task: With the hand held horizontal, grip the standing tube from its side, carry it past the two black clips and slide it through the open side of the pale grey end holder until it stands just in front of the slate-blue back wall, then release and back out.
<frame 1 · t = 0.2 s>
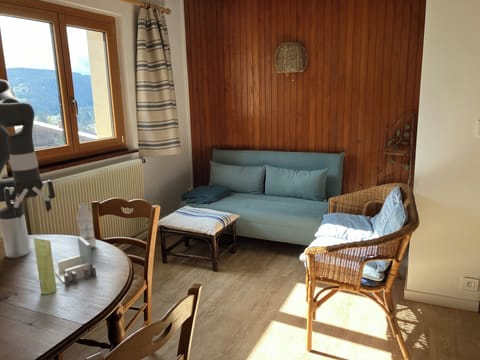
hand: (33, 214, 129), 29 cm above the table, tool pointing down, fingers open, 8 cm apart
end holder: (75, 272, 150), on the table
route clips: (79, 280, 144), on the table
tube: (49, 291, 137), on the table
plastic bottle: (88, 248, 174), on the table
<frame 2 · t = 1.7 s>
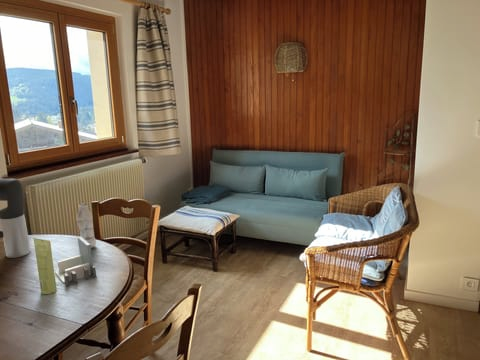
hand: (0, 230, 124), 26 cm above the table, tool horizontal, fingers open, 8 cm apart
nothing on the table moved.
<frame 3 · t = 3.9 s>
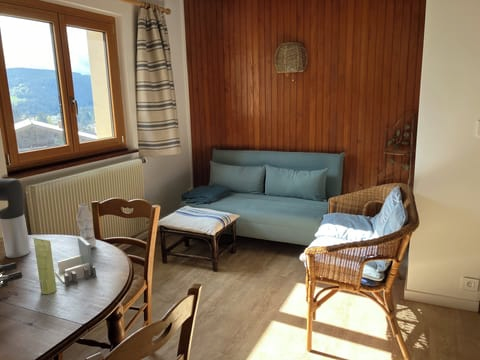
hand: (19, 269, 130), 11 cm above the table, tool horizontal, fingers open, 8 cm apart
nothing on the table moved.
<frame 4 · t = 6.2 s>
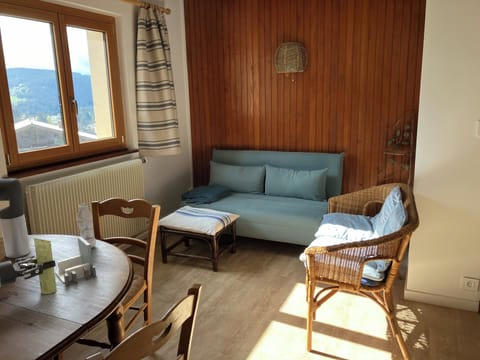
hand: (52, 260, 136), 11 cm above the table, tool horizontal, fingers closed on tube, 5 cm apart
tube: (49, 291, 137), on the table, touching gripper
everything else where it was.
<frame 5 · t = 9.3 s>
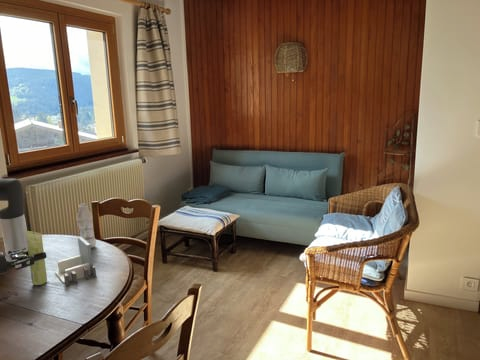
hand: (43, 252, 142), 12 cm above the table, tool horizontal, fingers closed on tube, 5 cm apart
tube: (40, 282, 143), on the table, touching gripper
everything else where it was.
when the fingers open (12 cm above the table, at t = 12.4 s): tube moves 1 cm, on the table.
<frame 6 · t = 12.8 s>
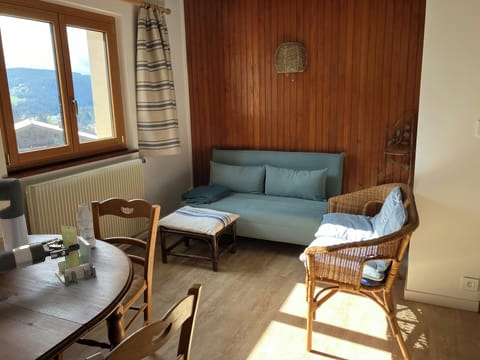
hand: (75, 242, 148), 12 cm above the table, tool horizontal, fingers open, 8 cm apart
tube: (74, 275, 149), on the table, touching gripper
everything else where it was.
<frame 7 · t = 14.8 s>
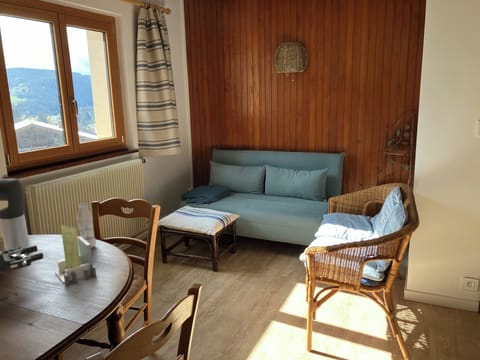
hand: (39, 251, 141), 12 cm above the table, tool horizontal, fingers open, 8 cm apart
tube: (74, 275, 149), on the table
everything else where it was.
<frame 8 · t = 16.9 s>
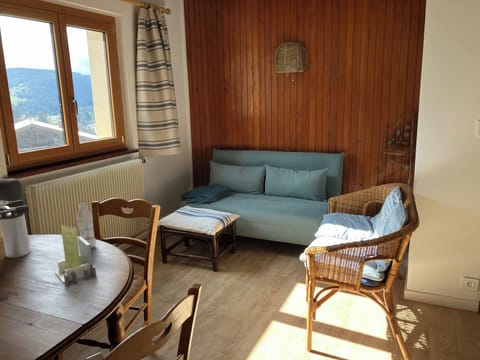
hand: (25, 205, 135), 30 cm above the table, tool horizontal, fingers open, 8 cm apart
nothing on the table moved.
at the end: tube 1.3 cm off-centre on the end holder, point 0.0 cm above the end holder's base; tube tilted 0°; the gripper is holding nothing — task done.
